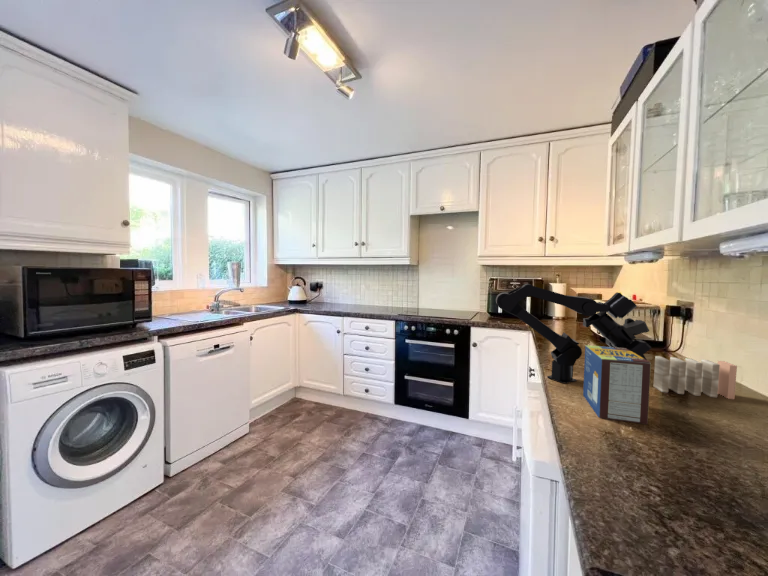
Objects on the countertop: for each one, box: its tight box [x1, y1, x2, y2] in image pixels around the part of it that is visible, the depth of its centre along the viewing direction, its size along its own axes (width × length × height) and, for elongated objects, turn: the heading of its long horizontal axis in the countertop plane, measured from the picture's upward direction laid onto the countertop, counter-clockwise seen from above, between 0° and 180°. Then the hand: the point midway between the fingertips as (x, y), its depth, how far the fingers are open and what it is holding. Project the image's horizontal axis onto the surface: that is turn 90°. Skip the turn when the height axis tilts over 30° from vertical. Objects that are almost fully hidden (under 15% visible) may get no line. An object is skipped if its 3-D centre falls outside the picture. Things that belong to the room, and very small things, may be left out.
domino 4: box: [700, 359, 720, 399], centre depth 96 cm, size 2×5×10 cm, turn 163°
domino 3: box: [684, 357, 703, 397], centre depth 97 cm, size 2×5×10 cm, turn 163°
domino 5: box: [717, 360, 738, 400], centre depth 95 cm, size 2×5×10 cm, turn 163°
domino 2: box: [668, 356, 686, 395], centre depth 98 cm, size 2×5×10 cm, turn 163°
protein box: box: [582, 344, 652, 425], centre depth 85 cm, size 10×15×16 cm
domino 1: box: [653, 355, 670, 393], centre depth 99 cm, size 2×5×10 cm, turn 163°
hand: (647, 364), depth 100 cm, fingers closed
